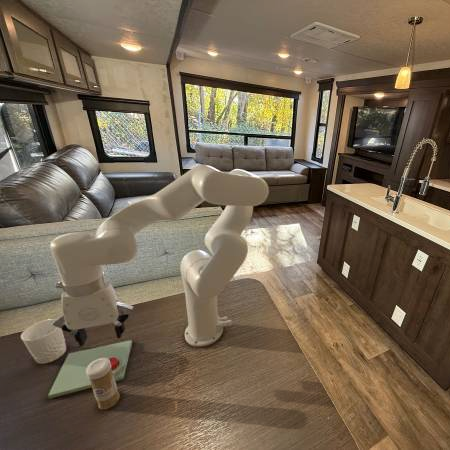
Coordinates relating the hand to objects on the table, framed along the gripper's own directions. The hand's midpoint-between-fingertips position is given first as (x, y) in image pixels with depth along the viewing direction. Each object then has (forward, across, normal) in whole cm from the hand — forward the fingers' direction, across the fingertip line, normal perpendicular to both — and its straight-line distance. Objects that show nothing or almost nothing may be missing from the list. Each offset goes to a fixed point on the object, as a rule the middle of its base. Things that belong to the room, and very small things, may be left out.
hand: (102, 337), depth 65 cm
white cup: (+14, -18, +12) cm, 26 cm away
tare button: (+11, 0, 0) cm, 11 cm away
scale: (+14, -5, +4) cm, 15 cm away
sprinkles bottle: (+14, +1, -8) cm, 16 cm away
